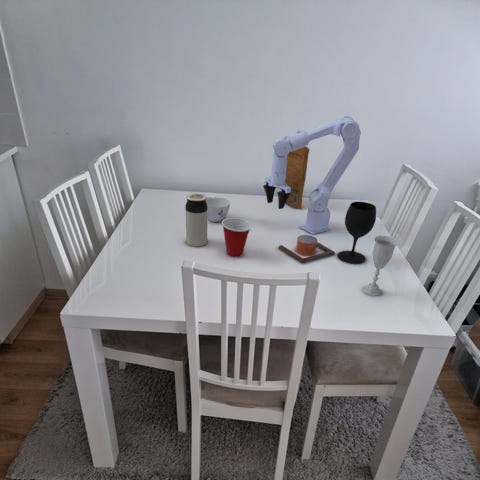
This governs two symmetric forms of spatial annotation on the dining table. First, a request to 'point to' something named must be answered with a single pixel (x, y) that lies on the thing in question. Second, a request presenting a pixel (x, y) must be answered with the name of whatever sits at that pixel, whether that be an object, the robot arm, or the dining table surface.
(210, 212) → the teacup
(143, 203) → the dining table surface
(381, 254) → the chalice
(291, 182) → the pancake mix bag
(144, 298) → the dining table surface
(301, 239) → the tin can
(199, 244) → the travel mug
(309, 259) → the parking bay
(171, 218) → the dining table surface
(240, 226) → the plastic cup
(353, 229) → the wine glass
